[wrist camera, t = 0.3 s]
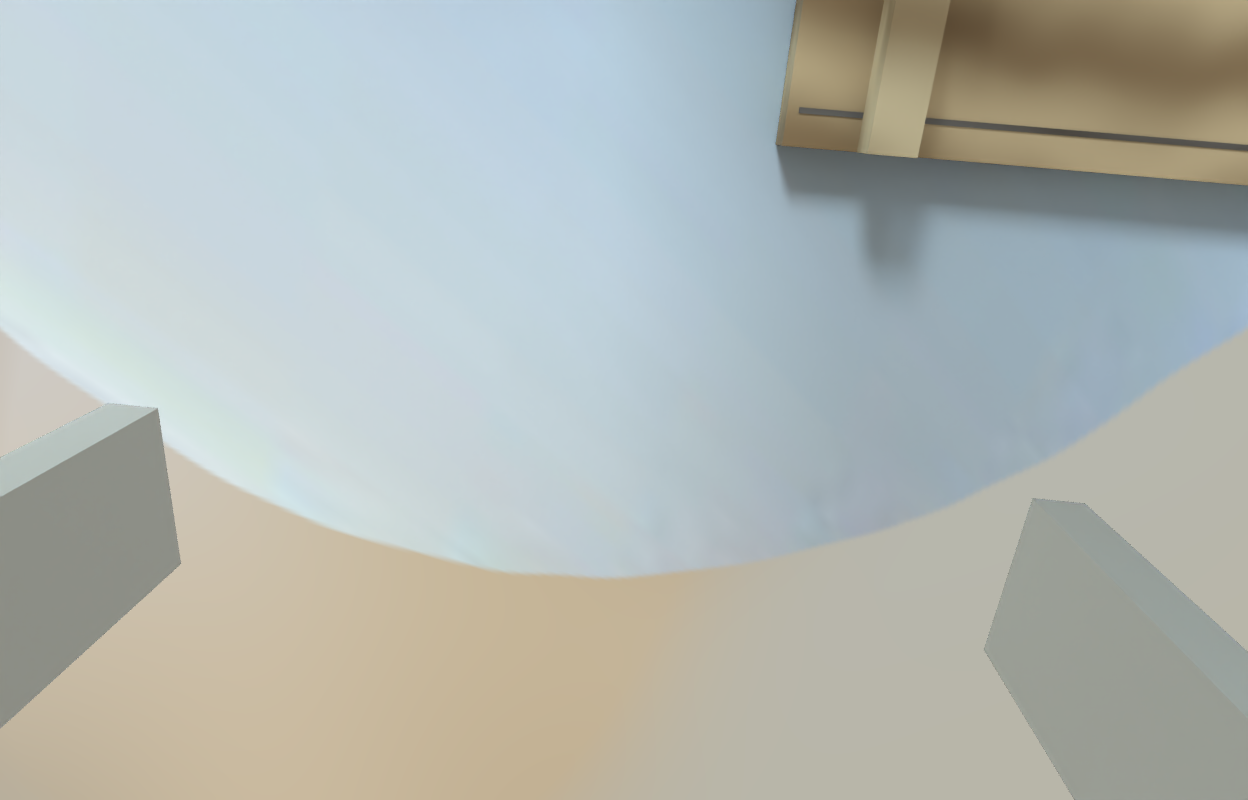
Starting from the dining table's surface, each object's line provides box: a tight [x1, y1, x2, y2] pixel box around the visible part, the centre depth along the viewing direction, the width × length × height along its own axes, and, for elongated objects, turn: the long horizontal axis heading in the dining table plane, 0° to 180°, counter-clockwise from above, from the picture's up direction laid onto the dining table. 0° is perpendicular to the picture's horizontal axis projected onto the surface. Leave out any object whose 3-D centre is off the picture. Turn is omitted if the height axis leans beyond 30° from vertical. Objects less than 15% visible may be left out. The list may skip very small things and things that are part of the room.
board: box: [776, 0, 1248, 185], centre depth 31 cm, size 10×24×2 cm, turn 86°
